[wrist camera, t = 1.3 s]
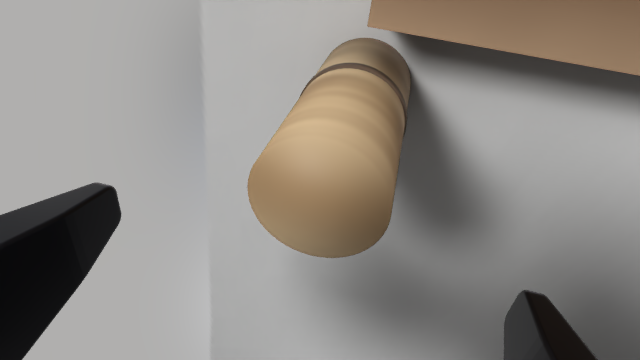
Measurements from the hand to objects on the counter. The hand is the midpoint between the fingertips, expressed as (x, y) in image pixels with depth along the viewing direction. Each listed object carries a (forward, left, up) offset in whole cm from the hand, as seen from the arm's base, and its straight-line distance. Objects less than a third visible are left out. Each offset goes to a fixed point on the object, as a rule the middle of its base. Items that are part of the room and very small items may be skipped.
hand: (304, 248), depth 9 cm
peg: (0, 0, -10) cm, 10 cm away
